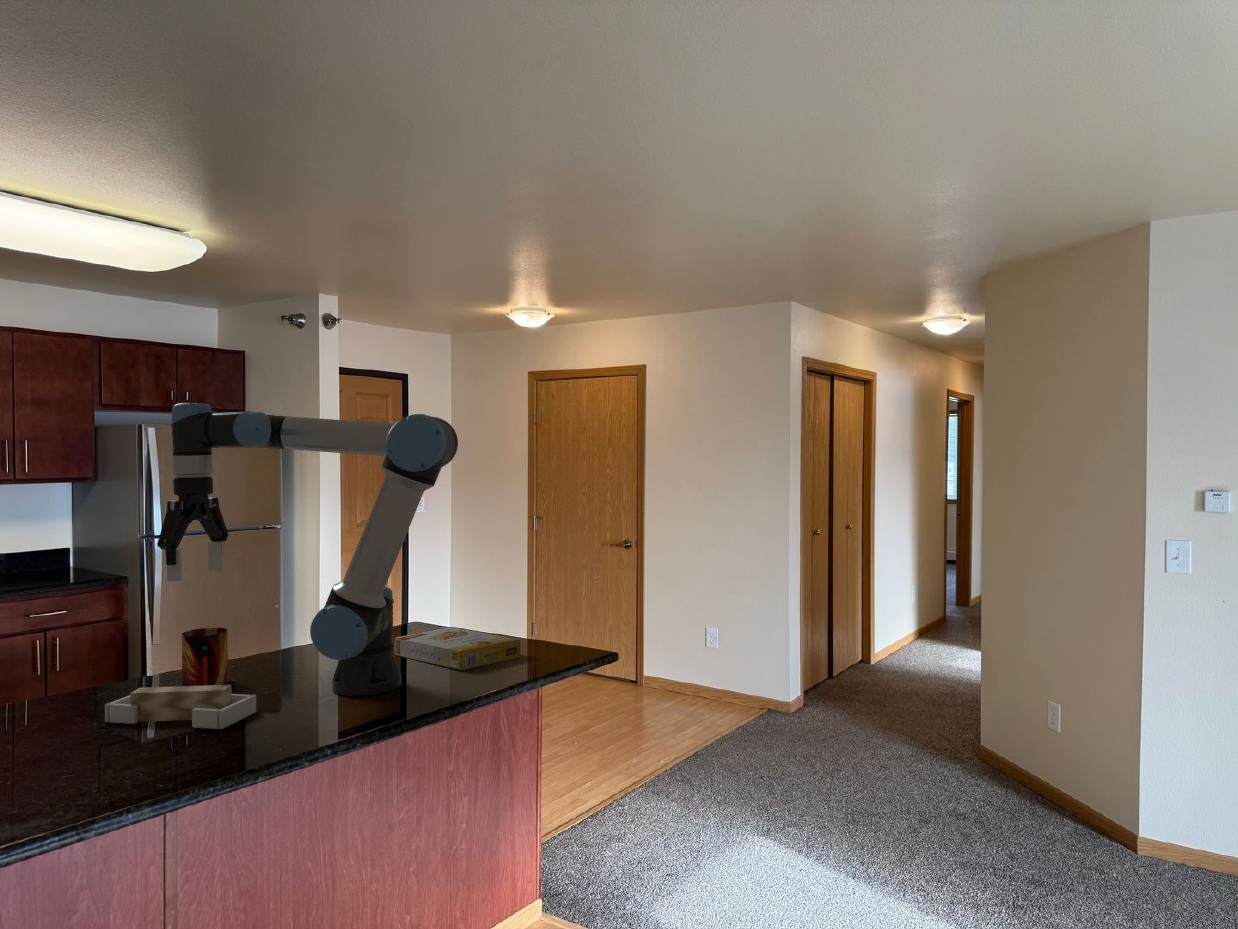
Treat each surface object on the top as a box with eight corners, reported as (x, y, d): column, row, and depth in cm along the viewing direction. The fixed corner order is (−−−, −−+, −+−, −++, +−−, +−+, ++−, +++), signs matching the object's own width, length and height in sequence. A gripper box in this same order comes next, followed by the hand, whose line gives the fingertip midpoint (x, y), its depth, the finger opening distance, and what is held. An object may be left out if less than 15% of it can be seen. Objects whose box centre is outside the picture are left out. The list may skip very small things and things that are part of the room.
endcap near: (256, 712, 174) (256, 695, 174) (221, 729, 163) (221, 711, 163) (228, 710, 175) (227, 693, 175) (192, 727, 165) (191, 709, 165)
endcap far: (105, 722, 168) (104, 704, 168) (145, 705, 179) (145, 689, 179) (133, 723, 167) (133, 706, 167) (172, 707, 178) (172, 690, 178)
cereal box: (461, 650, 205) (392, 635, 223) (461, 673, 205) (392, 656, 223) (521, 637, 221) (452, 624, 239) (521, 659, 221) (452, 644, 239)
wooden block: (231, 713, 174) (231, 684, 174) (224, 719, 170) (224, 690, 170) (140, 717, 172) (139, 687, 172) (130, 723, 168) (130, 693, 168)
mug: (203, 694, 188) (203, 640, 187) (174, 684, 196) (173, 632, 196) (245, 684, 195) (245, 633, 195) (215, 675, 204) (214, 626, 203)
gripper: (213, 474, 192) (215, 567, 192) (135, 478, 167) (138, 585, 167) (243, 474, 191) (246, 567, 191) (169, 477, 166) (172, 585, 166)
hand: (195, 576), depth 179 cm, fingers open, 13 cm apart
